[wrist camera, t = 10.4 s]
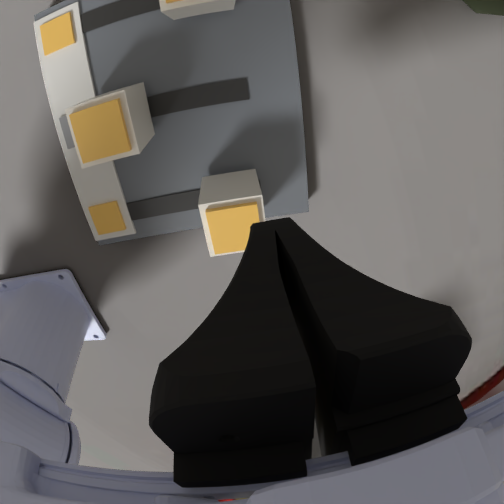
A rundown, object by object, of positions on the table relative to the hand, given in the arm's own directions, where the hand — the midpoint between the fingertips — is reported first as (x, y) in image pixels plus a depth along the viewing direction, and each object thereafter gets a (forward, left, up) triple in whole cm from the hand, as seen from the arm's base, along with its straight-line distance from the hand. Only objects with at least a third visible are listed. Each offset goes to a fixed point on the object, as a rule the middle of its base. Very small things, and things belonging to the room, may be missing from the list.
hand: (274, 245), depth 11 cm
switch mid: (-6, +4, -8) cm, 11 cm away
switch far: (-1, -2, -8) cm, 8 cm away
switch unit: (-4, +4, -10) cm, 11 cm away
